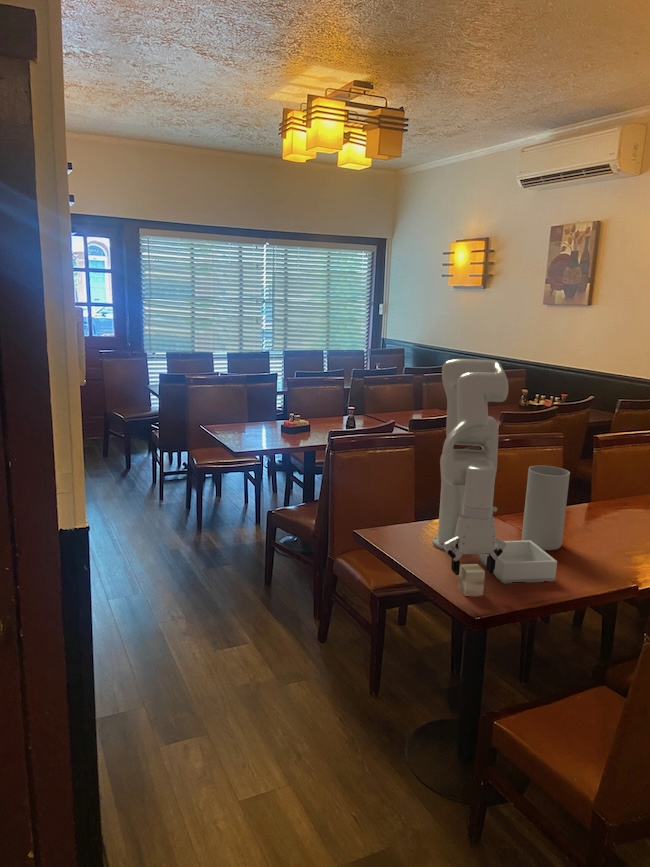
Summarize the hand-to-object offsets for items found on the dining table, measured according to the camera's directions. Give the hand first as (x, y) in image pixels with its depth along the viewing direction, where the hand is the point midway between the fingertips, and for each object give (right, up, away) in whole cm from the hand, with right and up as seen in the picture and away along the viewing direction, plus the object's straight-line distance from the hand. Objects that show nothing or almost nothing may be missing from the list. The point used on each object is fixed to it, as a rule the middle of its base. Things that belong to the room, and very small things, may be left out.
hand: (472, 572), depth 168 cm
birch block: (0, -6, +2) cm, 6 cm away
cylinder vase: (+31, +1, +38) cm, 49 cm away
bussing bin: (+17, -3, +17) cm, 24 cm away
